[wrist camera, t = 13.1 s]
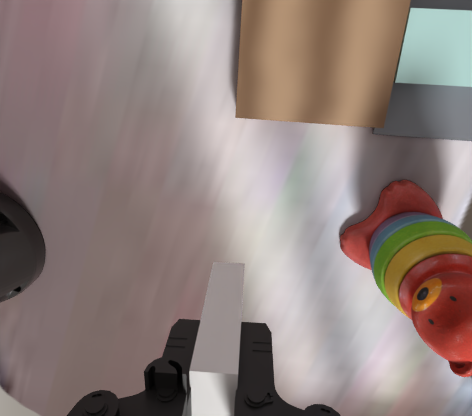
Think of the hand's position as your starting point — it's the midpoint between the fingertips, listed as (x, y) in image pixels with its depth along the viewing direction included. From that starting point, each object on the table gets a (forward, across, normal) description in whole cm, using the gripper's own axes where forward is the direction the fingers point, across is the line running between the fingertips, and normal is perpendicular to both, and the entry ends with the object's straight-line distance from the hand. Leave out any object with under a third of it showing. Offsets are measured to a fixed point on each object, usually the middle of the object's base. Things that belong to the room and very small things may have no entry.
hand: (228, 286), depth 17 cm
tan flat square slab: (+23, +6, +12) cm, 27 cm away
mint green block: (+22, +18, +12) cm, 31 cm away
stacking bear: (+23, +18, -7) cm, 30 cm away
